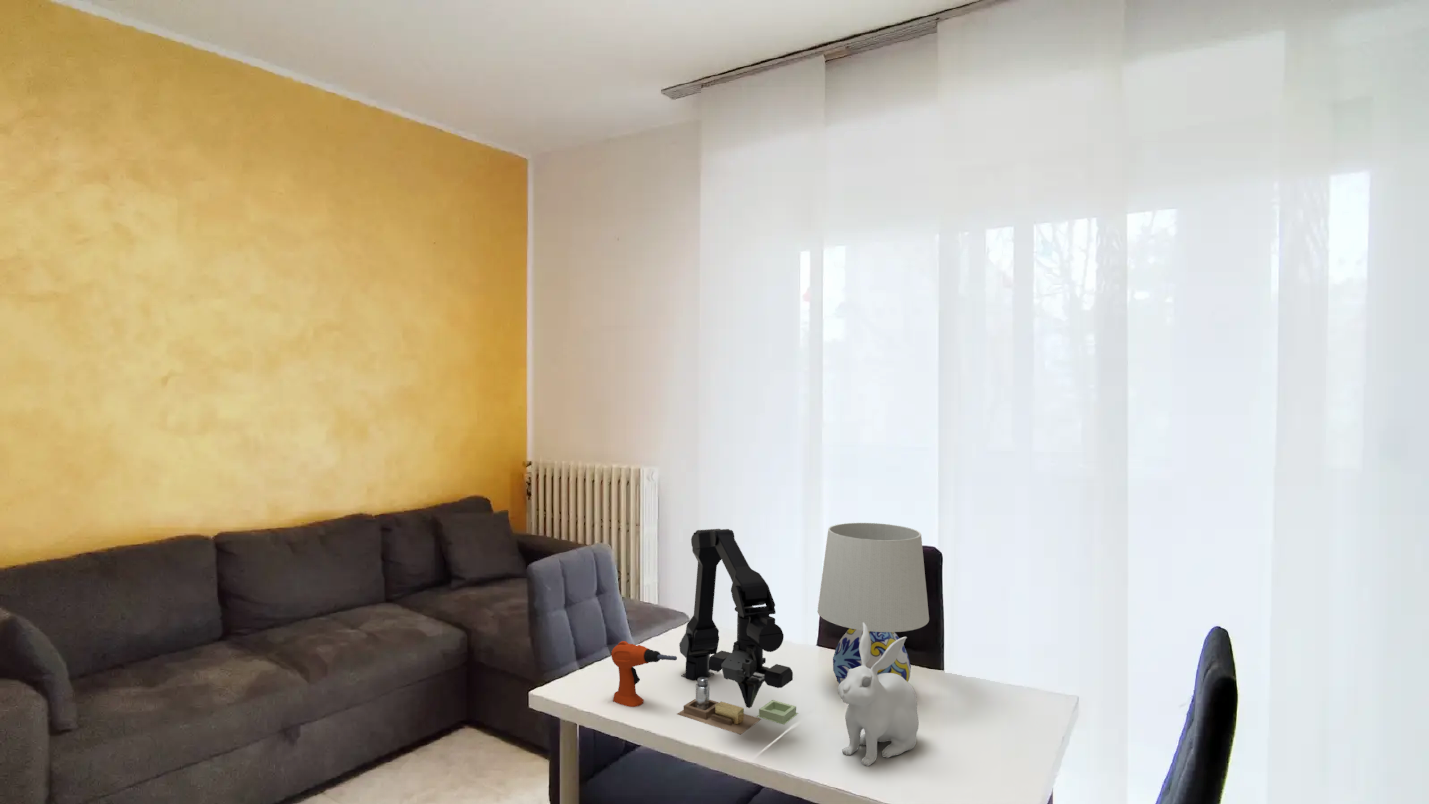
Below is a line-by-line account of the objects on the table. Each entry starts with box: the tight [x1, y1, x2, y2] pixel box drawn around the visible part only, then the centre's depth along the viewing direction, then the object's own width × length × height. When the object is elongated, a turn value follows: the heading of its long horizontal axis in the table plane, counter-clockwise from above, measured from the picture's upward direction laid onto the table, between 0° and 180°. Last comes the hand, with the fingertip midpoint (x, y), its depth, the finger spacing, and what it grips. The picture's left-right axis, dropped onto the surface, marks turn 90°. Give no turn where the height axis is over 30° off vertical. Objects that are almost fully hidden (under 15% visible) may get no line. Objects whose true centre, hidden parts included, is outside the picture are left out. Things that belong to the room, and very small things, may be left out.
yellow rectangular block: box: [715, 701, 745, 724], centre depth 164 cm, size 2×6×3 cm, turn 57°
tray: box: [756, 699, 799, 726], centre depth 167 cm, size 7×7×2 cm
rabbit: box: [837, 622, 920, 767], centre depth 152 cm, size 12×21×25 cm, turn 128°
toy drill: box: [610, 640, 678, 708], centre depth 170 cm, size 5×19×15 cm, turn 60°
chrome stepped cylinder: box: [695, 677, 711, 710], centre depth 168 cm, size 3×3×8 cm
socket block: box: [676, 698, 762, 735], centre depth 165 cm, size 9×17×2 cm, turn 57°
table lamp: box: [817, 522, 930, 685], centre depth 182 cm, size 27×27×40 cm
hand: (748, 707), depth 161 cm, fingers closed
